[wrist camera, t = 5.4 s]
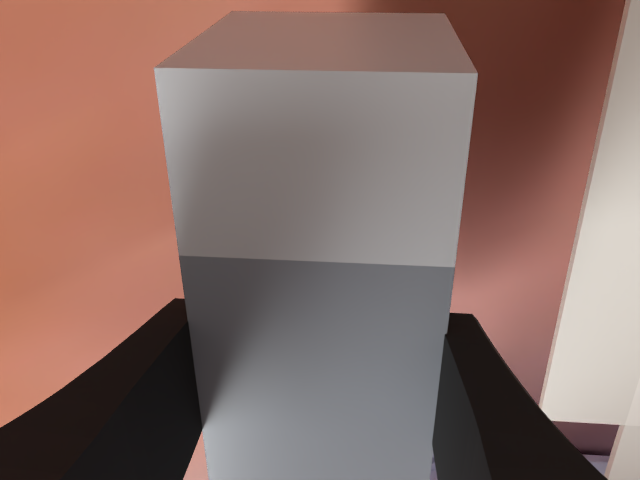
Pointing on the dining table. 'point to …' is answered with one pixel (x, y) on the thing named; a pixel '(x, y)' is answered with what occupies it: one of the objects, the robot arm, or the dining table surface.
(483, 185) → the dining table surface
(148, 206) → the dining table surface
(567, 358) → the cream square frame
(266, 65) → the box
